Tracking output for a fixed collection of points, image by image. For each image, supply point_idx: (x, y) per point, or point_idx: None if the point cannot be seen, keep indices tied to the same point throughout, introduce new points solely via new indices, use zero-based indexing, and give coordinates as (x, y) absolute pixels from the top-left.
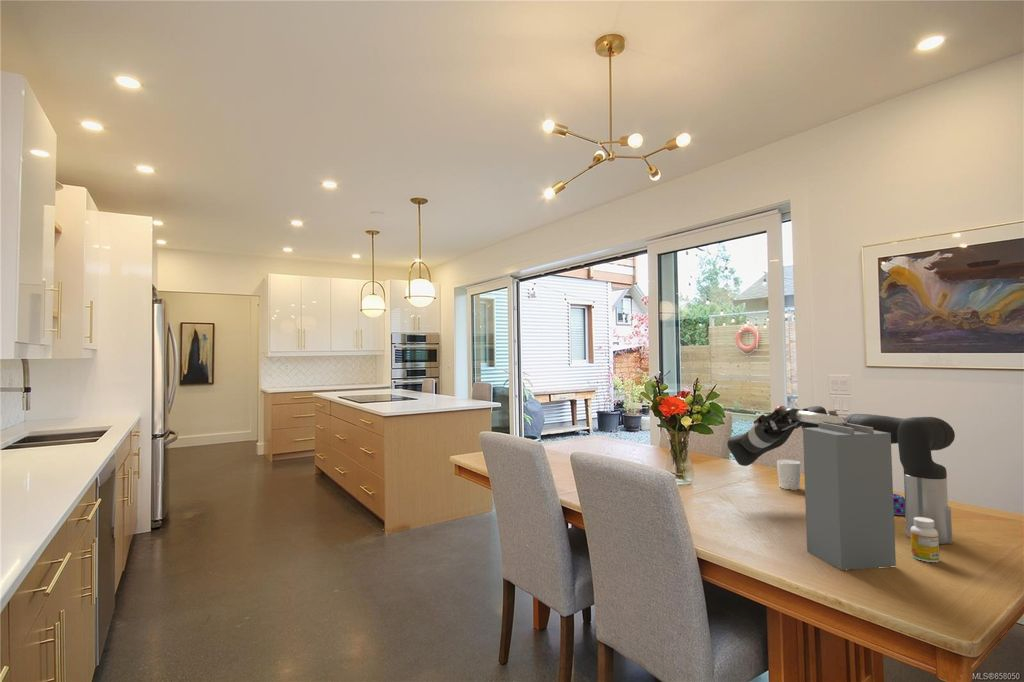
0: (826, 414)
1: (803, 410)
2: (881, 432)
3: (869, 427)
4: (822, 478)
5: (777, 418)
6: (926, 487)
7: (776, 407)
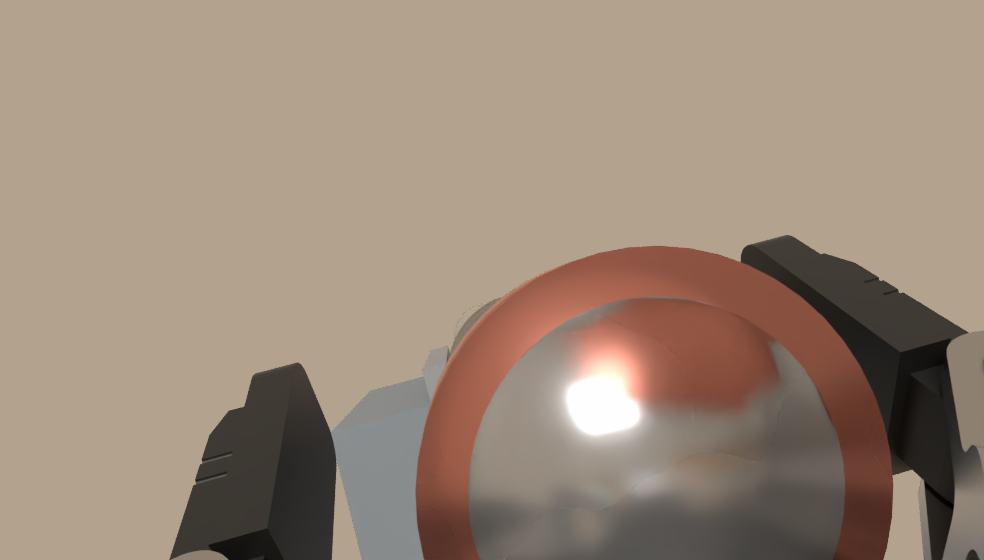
0: (482, 305)
1: (301, 403)
2: (385, 389)
3: (442, 347)
4: None
5: None
6: None
7: (751, 273)
